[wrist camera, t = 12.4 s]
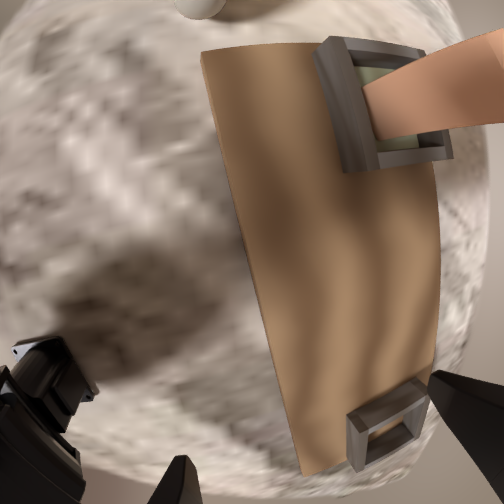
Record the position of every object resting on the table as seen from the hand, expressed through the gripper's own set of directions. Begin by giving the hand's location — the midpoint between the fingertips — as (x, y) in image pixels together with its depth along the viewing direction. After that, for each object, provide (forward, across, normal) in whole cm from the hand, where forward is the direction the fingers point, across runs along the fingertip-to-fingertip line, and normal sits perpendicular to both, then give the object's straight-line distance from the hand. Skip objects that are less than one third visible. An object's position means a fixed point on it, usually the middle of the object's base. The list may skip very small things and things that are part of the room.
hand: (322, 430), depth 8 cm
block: (+12, -12, -12) cm, 21 cm away
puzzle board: (+13, -9, +4) cm, 16 cm away
